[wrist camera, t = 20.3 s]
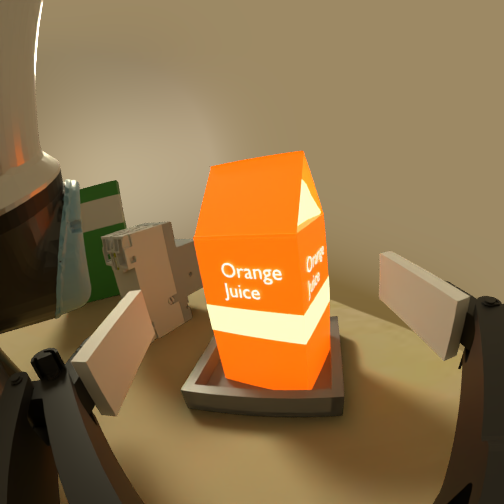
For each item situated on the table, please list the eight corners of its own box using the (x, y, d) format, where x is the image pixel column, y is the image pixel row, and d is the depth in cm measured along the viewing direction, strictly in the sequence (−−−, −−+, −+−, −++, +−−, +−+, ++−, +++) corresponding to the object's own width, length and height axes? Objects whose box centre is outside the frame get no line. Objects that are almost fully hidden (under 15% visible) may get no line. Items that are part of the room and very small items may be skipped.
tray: (188, 407, 22) (180, 389, 22) (226, 336, 35) (223, 320, 34) (342, 415, 19) (344, 396, 18) (337, 333, 31) (337, 316, 30)
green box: (69, 307, 50) (41, 201, 44) (75, 296, 57) (51, 200, 50) (139, 289, 56) (115, 180, 50) (139, 279, 63) (118, 182, 57)
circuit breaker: (218, 301, 46) (201, 212, 42) (151, 342, 35) (120, 237, 31) (189, 294, 50) (172, 215, 46) (126, 328, 39) (99, 237, 35)
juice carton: (308, 398, 21) (285, 148, 16) (224, 378, 26) (179, 169, 20) (331, 348, 28) (317, 152, 22) (259, 338, 32) (232, 165, 27)
